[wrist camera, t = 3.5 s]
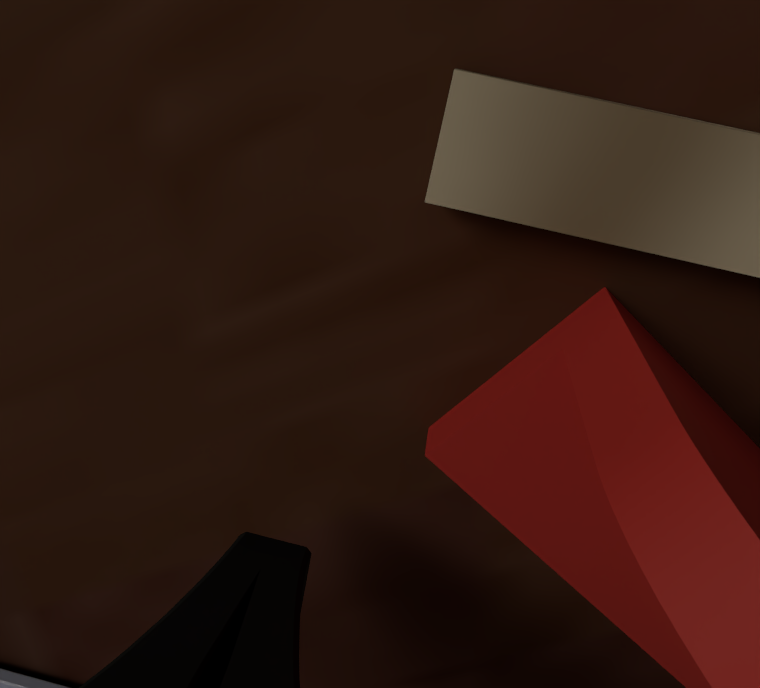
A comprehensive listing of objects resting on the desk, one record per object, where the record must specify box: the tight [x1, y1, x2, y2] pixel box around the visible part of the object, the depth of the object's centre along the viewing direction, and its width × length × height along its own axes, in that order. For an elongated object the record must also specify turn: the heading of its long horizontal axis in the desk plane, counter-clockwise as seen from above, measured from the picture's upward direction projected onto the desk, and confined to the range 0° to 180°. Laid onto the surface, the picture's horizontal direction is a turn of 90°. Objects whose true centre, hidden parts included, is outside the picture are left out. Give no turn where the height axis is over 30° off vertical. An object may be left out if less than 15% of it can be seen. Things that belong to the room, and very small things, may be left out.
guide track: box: [425, 69, 760, 278], centre depth 13 cm, size 17×19×1 cm
